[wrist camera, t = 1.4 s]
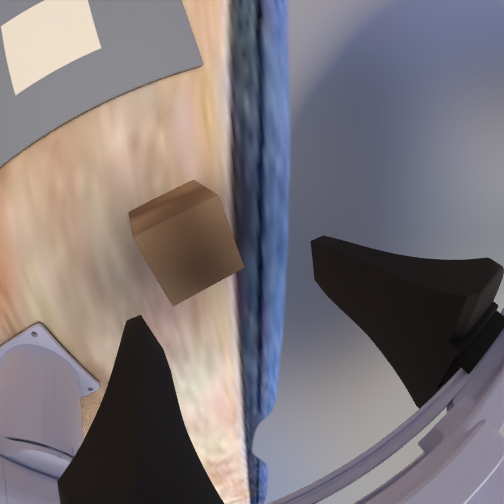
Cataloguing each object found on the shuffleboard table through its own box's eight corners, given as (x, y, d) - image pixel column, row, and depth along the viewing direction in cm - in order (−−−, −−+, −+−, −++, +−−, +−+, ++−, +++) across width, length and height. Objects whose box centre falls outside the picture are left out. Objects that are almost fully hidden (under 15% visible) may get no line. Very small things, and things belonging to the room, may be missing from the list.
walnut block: (158, 269, 18) (173, 306, 15) (128, 211, 16) (133, 237, 12) (216, 238, 19) (244, 267, 16) (193, 179, 17) (218, 194, 13)
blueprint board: (-26, 190, 10) (-30, 192, 9) (-59, 44, 3) (-63, 43, 3) (200, 66, 14) (203, 64, 13) (155, -64, 7) (157, -69, 7)
